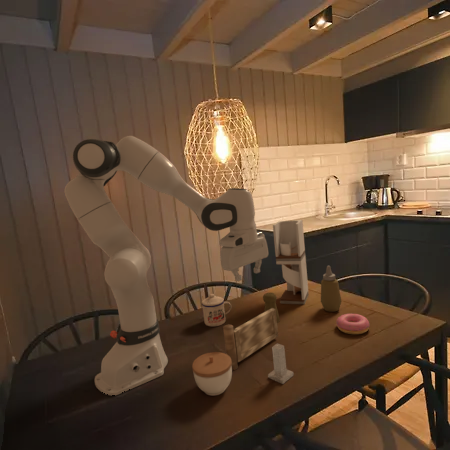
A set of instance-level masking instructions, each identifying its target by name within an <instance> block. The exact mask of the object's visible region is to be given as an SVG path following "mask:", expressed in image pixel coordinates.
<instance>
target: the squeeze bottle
mask: <svg viewBox="0 0 450 450" xmlns="http://www.w3.org/2000/svg"><path fill="white" fill-rule="evenodd" d="M331 268H332V267H331V266H330V265H327V266H326V270H325V273H324V274H322V276H323V277H322V280H320V303H321V306H322V308H323V310H324V311H326V312H331V313H333V312H338V311H339V310H340V307H341V304H342V297H341V296H342V295H341V292H340V291H341V290H340V286H339V281H338V280H337V279H336V274H335V273H333V272H332V269H331Z"/></svg>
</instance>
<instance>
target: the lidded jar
mask: <svg viewBox="0 0 450 450" xmlns="http://www.w3.org/2000/svg"><path fill="white" fill-rule="evenodd" d="M191 368H192V372H193V373H192V374H193V377H194V380H195V383H196V386H197V387H198V388H199V389H200V390H201V391H202V392H204V393H205V394H206V395H208V396H212V397H213V396H214V397H215V396H219V395H221V394H223V393H225V391H226V389H227V388H228V386H230V383H231V381H232V376H233V370H232V361H231V358H230V357H229V356H228V355H227V354H226V352H220V351H213V352H206V353H204V354H202V355H201V354H200V355H199V356H197V358H195V359H194V360H193V362H192V365H191Z"/></svg>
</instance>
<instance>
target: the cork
mask: <svg viewBox="0 0 450 450" xmlns="http://www.w3.org/2000/svg"><path fill="white" fill-rule="evenodd" d="M277 298H278V297H277V295H276V294H275V293H274V292H266V293H264V294H263V296H262V300H263V302H264V312H266V311H267V310H269V309H271V308H274V309H276V318H277V324H278V323H279V322H280V321H281V320H280V315H279V311H278V308H277V304H276V303H277Z"/></svg>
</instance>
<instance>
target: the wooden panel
mask: <svg viewBox="0 0 450 450" xmlns="http://www.w3.org/2000/svg"><path fill="white" fill-rule="evenodd" d="M278 329H279V328H278V323H277V318H276V309H274V308H271V309H269V310H267V311H266V312H265V311H263V312H262V313H260V314H258V315H257V316H255V317H253V318H251V319H250V320H248V321H247V322H244V323H243V324H241V325H239V326H237V327H236V328H233V330H234V339H235V347H236V356H237V363H240V362H241V361H243V360H244V359H246V358H248V357H249V356H250V355H252V354H253V353H255V352H257V351H258V350H260V349H261V348H262V347H264V346H265V345H267V344H268V343H270V342H272V341H273V340H274V339H276V338H277V337H279V330H278Z"/></svg>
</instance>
